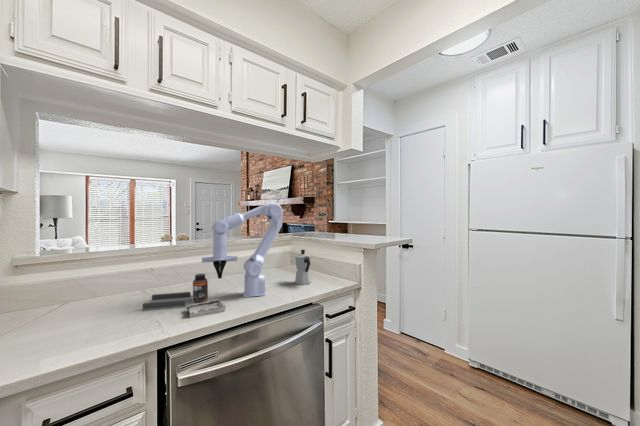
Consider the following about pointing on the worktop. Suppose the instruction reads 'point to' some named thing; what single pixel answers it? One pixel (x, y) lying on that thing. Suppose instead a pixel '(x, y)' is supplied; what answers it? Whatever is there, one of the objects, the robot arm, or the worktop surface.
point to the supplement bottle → (200, 288)
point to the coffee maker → (302, 269)
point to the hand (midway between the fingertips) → (219, 278)
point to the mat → (168, 301)
